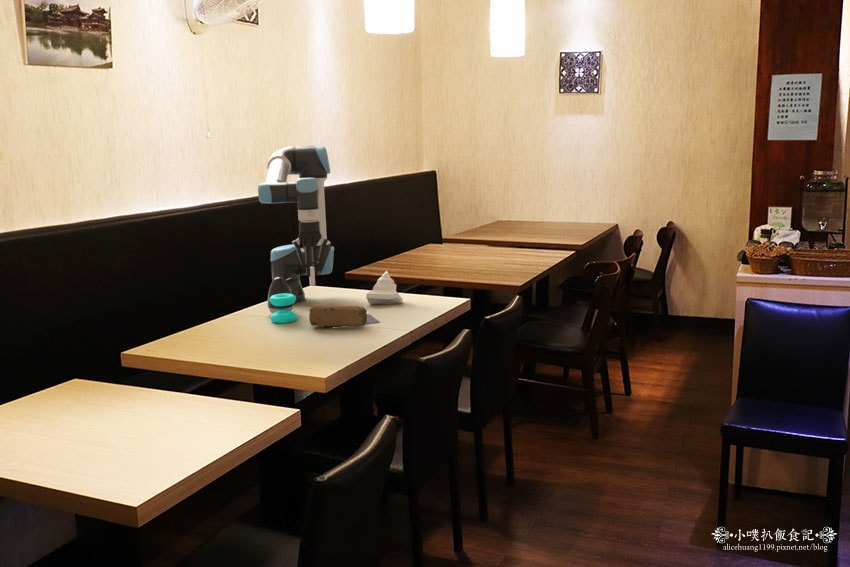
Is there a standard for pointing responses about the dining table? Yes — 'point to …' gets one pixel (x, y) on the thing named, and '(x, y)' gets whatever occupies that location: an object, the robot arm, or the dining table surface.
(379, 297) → the soft serve ice cream
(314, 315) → the block
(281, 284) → the dark grey tapered piece
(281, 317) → the donuts
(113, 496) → the dining table surface
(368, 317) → the mat
